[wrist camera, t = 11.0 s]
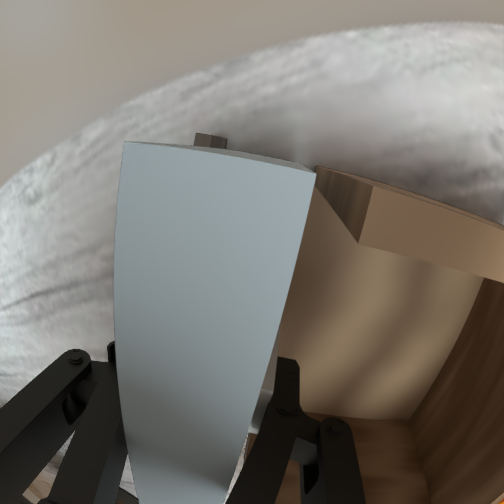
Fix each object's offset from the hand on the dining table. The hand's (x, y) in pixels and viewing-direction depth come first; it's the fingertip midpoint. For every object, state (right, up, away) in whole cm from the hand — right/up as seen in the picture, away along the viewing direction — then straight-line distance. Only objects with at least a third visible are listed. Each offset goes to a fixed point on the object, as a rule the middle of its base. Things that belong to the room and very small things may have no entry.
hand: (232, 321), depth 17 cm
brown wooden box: (+7, -1, +2) cm, 7 cm away
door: (0, 0, +1) cm, 1 cm away
